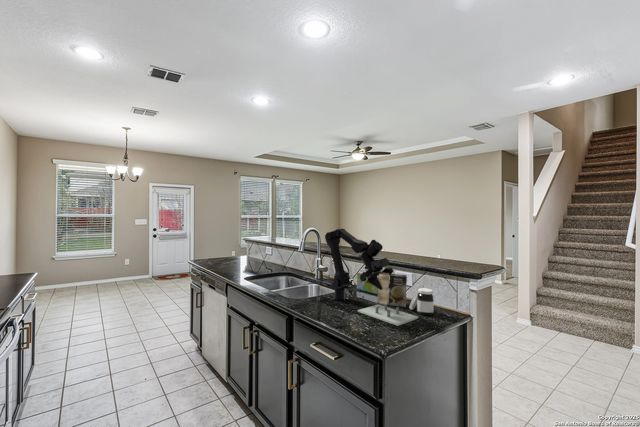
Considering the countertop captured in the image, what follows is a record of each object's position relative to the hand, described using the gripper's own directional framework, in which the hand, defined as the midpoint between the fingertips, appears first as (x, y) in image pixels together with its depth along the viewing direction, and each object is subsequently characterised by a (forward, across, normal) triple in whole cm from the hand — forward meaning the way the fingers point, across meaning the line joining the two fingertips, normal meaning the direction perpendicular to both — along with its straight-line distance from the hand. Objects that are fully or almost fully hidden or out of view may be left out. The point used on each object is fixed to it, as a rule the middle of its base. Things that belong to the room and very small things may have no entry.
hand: (385, 288), depth 146 cm
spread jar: (+13, +21, +7) cm, 26 cm away
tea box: (-9, +17, +28) cm, 34 cm away
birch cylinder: (+4, 0, +6) cm, 7 cm away
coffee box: (+2, +21, +17) cm, 27 cm away
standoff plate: (+8, +3, +11) cm, 14 cm away
